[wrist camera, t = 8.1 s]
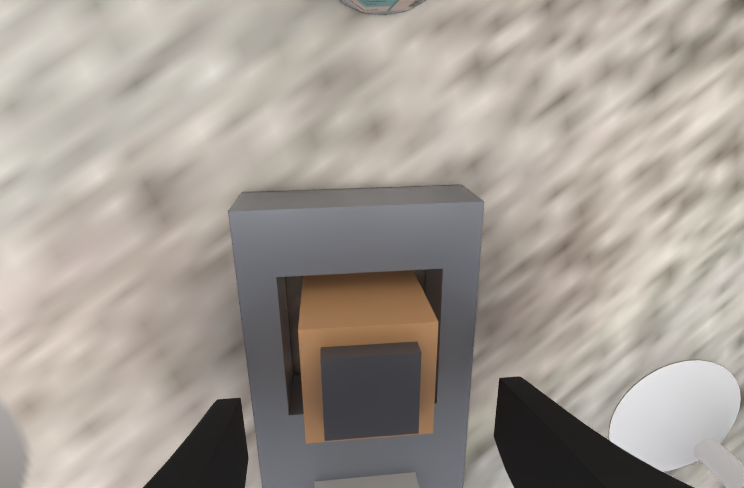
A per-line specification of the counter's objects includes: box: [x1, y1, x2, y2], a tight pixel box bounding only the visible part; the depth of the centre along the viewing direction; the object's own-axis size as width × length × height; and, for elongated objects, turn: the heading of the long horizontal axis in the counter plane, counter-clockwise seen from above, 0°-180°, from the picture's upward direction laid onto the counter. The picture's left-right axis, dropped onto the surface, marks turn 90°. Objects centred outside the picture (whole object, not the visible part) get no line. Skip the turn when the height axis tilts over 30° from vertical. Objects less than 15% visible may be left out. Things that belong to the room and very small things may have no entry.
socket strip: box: [228, 185, 484, 488], centre depth 18 cm, size 20×8×5 cm, turn 1°
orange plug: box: [298, 270, 438, 444], centre depth 16 cm, size 4×4×6 cm
